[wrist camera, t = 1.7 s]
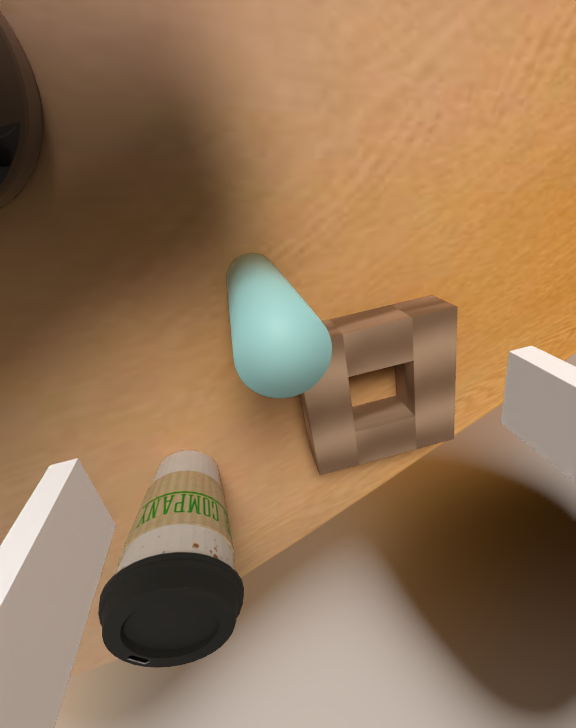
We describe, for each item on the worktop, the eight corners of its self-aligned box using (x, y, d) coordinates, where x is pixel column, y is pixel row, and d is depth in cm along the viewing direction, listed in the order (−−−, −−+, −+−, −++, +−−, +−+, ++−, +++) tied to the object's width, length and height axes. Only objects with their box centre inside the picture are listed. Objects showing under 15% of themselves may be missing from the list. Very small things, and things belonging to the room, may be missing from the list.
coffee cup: (255, 465, 38) (275, 609, 25) (196, 522, 40) (185, 685, 27) (178, 417, 34) (152, 558, 21) (117, 483, 36) (58, 651, 23)
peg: (220, 259, 29) (221, 319, 15) (273, 248, 29) (324, 295, 15) (233, 311, 31) (246, 408, 17) (283, 299, 31) (337, 385, 17)
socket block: (286, 329, 33) (295, 346, 29) (432, 295, 34) (457, 306, 30) (310, 449, 39) (320, 475, 35) (432, 417, 40) (453, 438, 36)
